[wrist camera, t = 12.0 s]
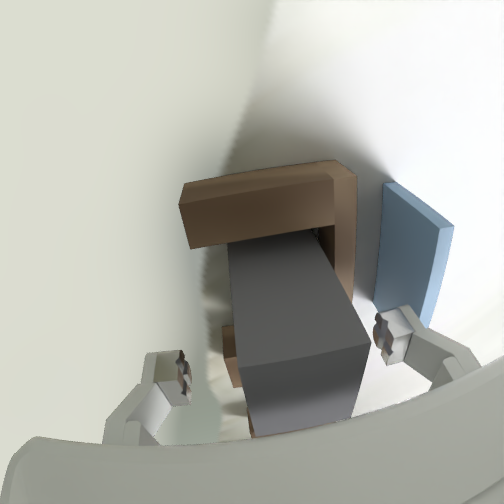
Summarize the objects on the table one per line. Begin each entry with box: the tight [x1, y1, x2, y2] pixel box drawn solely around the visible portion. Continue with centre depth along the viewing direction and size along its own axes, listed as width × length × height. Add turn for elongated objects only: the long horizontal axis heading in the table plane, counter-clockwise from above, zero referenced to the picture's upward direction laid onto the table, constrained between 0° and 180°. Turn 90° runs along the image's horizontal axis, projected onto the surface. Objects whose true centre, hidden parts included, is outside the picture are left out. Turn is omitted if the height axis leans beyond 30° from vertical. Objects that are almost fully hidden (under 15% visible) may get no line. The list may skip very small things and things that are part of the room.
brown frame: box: [178, 160, 454, 439], centre depth 17 cm, size 21×10×5 cm, turn 8°
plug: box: [227, 229, 371, 437], centre depth 13 cm, size 5×4×8 cm
